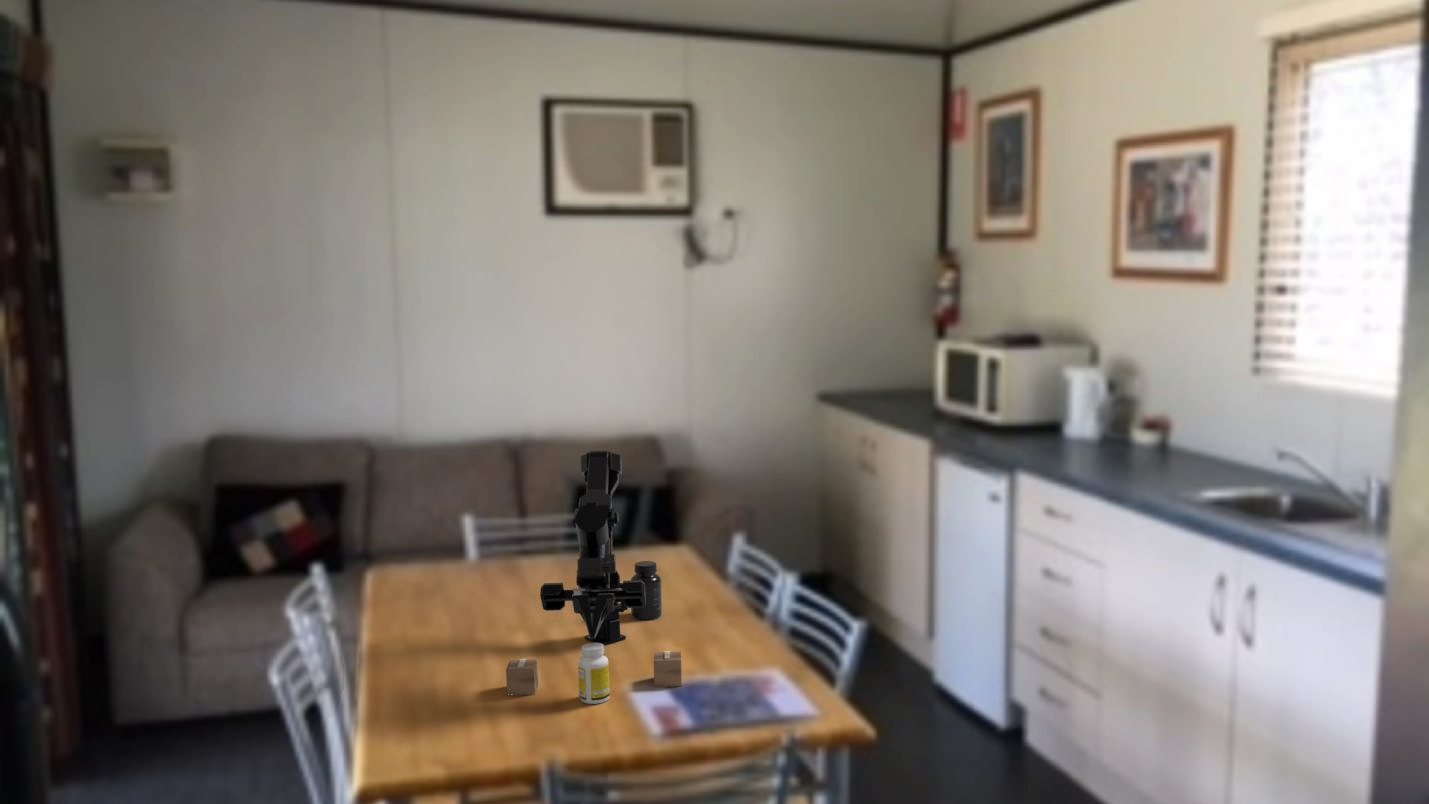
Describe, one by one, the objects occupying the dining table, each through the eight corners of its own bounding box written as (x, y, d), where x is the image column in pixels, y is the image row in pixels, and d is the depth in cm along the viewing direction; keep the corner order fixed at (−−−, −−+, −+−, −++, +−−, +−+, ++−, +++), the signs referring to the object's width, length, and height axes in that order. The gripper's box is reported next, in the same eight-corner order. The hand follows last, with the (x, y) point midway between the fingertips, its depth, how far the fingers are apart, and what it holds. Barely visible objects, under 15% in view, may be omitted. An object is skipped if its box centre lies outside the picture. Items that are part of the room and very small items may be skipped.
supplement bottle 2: (625, 619, 253) (624, 565, 251) (639, 610, 259) (637, 558, 258) (654, 622, 250) (652, 568, 249) (667, 613, 256) (665, 560, 255)
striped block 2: (654, 678, 216) (653, 650, 215) (681, 677, 216) (680, 649, 215) (654, 687, 211) (653, 659, 210) (681, 686, 211) (681, 658, 210)
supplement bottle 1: (614, 695, 207) (613, 642, 206) (602, 706, 202) (600, 652, 201) (587, 692, 208) (585, 640, 207) (574, 703, 203) (572, 649, 202)
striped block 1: (510, 686, 213) (509, 658, 212) (538, 685, 213) (537, 657, 212) (507, 696, 208) (505, 667, 207) (534, 695, 208) (533, 666, 208)
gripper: (539, 539, 207) (534, 617, 197) (643, 536, 207) (643, 614, 198) (545, 571, 215) (541, 647, 206) (645, 568, 216) (645, 644, 206)
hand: (592, 637), depth 204 cm, fingers closed
